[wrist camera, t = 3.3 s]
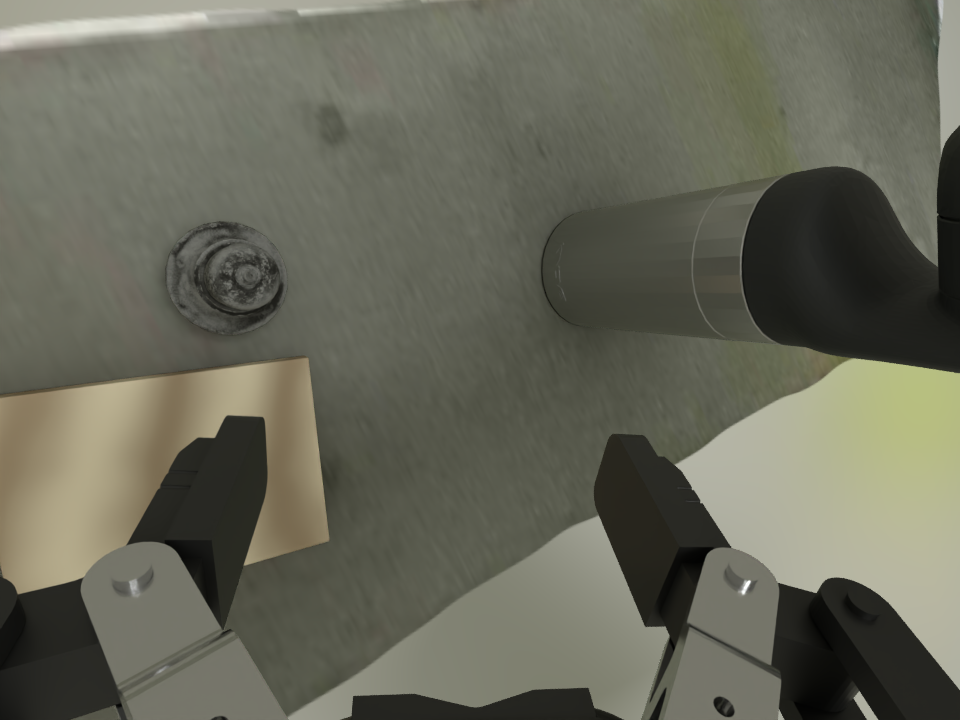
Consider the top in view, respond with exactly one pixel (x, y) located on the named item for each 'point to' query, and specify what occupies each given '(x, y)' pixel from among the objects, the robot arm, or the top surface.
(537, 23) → the top surface
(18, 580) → the birch board
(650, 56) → the top surface
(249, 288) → the salt shaker
